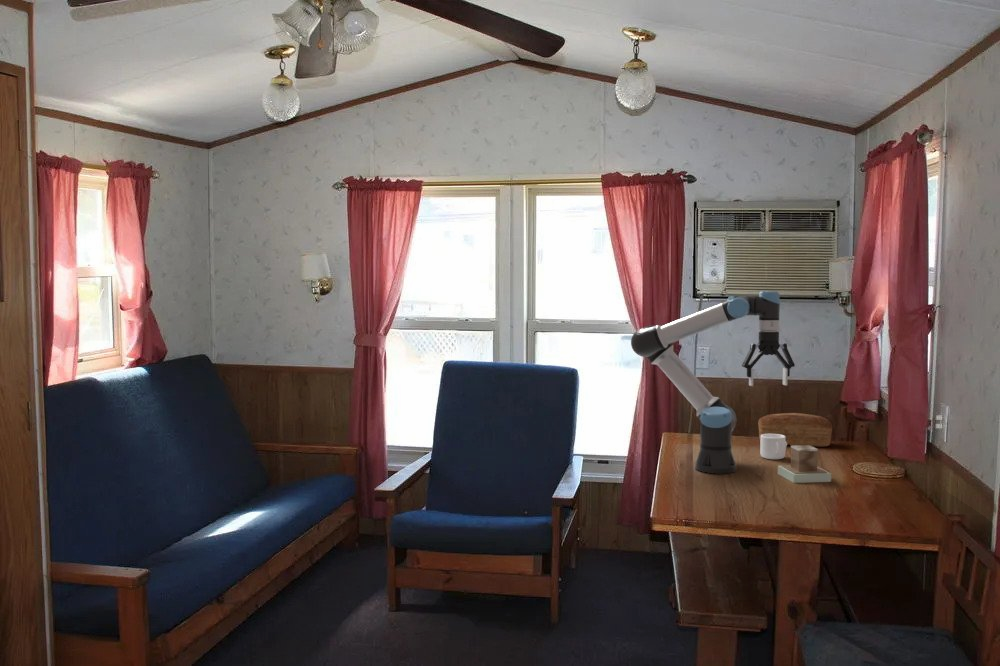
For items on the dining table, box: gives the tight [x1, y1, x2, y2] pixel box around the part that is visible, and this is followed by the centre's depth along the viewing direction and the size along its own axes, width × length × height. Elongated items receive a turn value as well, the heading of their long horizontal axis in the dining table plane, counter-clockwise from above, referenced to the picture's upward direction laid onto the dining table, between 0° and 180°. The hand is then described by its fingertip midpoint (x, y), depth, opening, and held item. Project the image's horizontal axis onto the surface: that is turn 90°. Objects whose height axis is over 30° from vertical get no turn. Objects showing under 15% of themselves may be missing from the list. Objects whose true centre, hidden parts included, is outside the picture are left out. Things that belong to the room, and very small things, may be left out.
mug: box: [759, 434, 788, 461], centre depth 346 cm, size 12×10×9 cm
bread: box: [757, 412, 833, 448], centre depth 374 cm, size 12×31×14 cm, turn 72°
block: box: [790, 445, 819, 471], centre depth 314 cm, size 7×7×8 cm
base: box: [777, 464, 832, 484], centre depth 314 cm, size 14×14×3 cm
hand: (768, 385), depth 331 cm, fingers open, 13 cm apart
